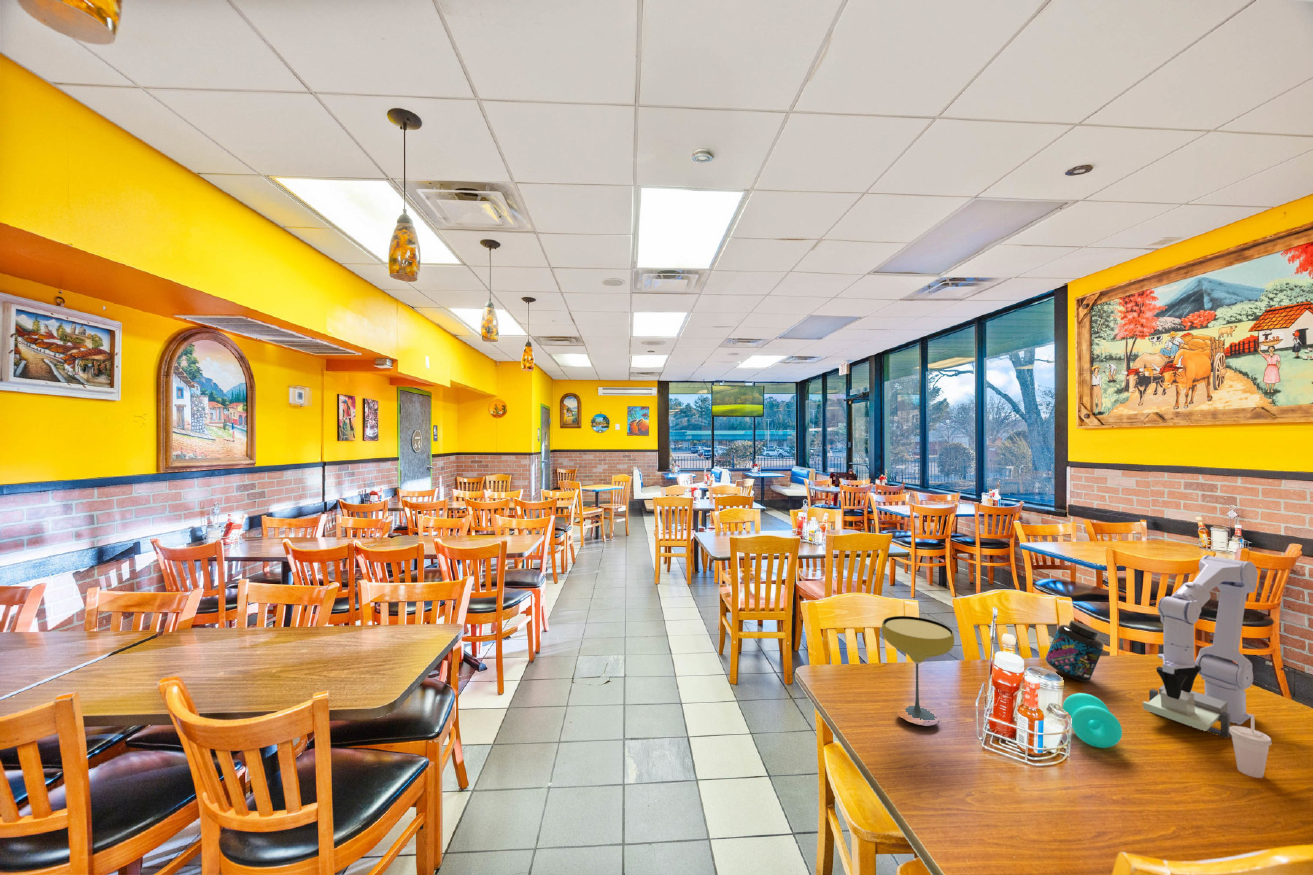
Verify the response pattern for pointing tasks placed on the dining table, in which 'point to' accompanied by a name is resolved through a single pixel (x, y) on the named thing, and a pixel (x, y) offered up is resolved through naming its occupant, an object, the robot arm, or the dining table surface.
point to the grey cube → (1179, 703)
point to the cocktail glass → (918, 646)
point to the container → (1075, 650)
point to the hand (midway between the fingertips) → (1179, 694)
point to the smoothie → (1250, 749)
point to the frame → (1223, 732)
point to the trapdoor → (1204, 713)
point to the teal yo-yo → (1093, 720)
